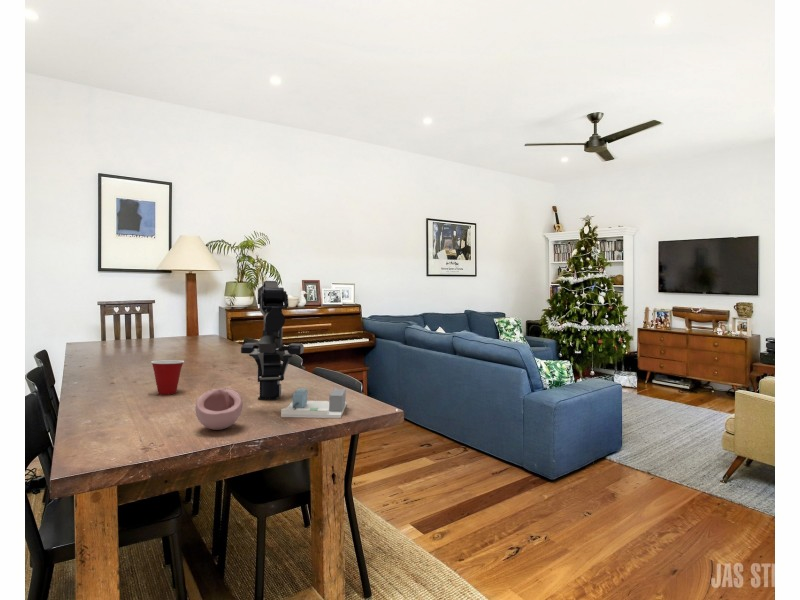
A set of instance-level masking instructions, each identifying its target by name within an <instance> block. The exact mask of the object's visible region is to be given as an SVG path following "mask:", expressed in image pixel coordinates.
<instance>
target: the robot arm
mask: <svg viewBox="0 0 800 600" xmlns="http://www.w3.org/2000/svg"><path fill="white" fill-rule="evenodd" d="M262 282H263V283H262V286H260V287H259V288H258V289H257V305H258V306H259V311H260V313H261V315H262V316H263V330H262V336H261V337H260V339H259V341H257V342H245V343H244V344H242V345H241V346H240V354H248V356H249V357H252V358H253V360H254V361H255V362H256V365H257V374H256V375H257V377H256V378H257V383H259V397H257V400H269V401H270V400H271V401H273V400H275V401H276V400H278V399H279V398H280V397H281V396H282V384H281V383H280V382H283V381H284V380H285V373H286V370H287V369H288V365H289V363H290V361H291V359H292V358H293V357H294V356H296V355H301V354H303V353H305V346H304V344H303V343H293V342H292V343H290V344H288V345H283V344H284V341H283V332H284V329H283V327H284V325H285V324H286V317H285V315H284V313H283V310H288V309H287V308H288V307H289V296H288V293H287V291H286V290H285V288H284V287H280V286H279V282H278V281H276V280H265V281H262ZM278 352H283V353H284V354H283V355H282V358H281V356H280V354H279V353H278Z"/></svg>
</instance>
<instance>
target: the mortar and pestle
mask: <svg viewBox="0 0 800 600" xmlns="http://www.w3.org/2000/svg"><path fill="white" fill-rule="evenodd" d="M194 410H195V415H196V416H195V417H196V418H197V420H198V422H199V423H200V424H201V425H203V427H205V428H206V429H210V430H215V431H216V430H217V431H221V430H224V429H227V428H230V427H231V426H233V425H234V424H235V423H236V422H237V421H239V418H240V416H241V414H242V411H243V399H242V397H241V395H240V394H239V393H238V392H237V391H236V390H233V389H229V388H226V387H220V388H216V387H215V388H213V389H212V388H211V389H208V390H206V391H204V393H202V394H201V395H200V396H199V397H198V398H197V400H196V403H195V409H194Z"/></svg>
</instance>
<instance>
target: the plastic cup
mask: <svg viewBox="0 0 800 600" xmlns="http://www.w3.org/2000/svg"><path fill="white" fill-rule="evenodd" d="M150 363H151V365H152V368H153V372H154V373H153V374H154V379H155V384H156V389H157V393H158V395H160V396H170V395H174V394H176V393H177V391H178V385H179V381H180V376H181V371H182V367H183V365H184V363H185V360H178V359H163V360H152V361H150Z"/></svg>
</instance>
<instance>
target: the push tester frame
mask: <svg viewBox="0 0 800 600" xmlns="http://www.w3.org/2000/svg"><path fill="white" fill-rule="evenodd" d="M346 390H347V389H346V388H342V389H341V388H333V389H332V391H331V392H330V394H329V395H328V396H329V400H307V404H306V405H305V406H304V407H303V408H297V407H296V408H293V400H292V401H291V402H290V404H289V405H288V406H287V407H282V409H281V410H280V413H281V414H280V417H281V418H310V419H313V418H315V419H316V418H318V419H322V418H323V419H341V418H342V416H343V413H344V411H345V409H346V407H347V405H348V403H347V402H348V401H346V397H347V396H346V395H347V394H346Z"/></svg>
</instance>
